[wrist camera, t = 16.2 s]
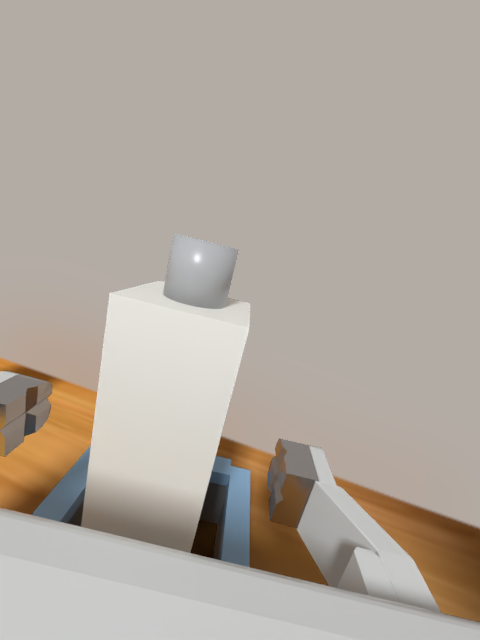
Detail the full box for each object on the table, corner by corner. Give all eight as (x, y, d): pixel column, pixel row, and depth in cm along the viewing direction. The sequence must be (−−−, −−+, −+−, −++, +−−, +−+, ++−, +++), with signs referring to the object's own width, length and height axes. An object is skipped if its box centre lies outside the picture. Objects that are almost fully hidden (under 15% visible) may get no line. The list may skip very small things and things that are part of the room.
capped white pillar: (188, 545, 14) (262, 256, 11) (164, 650, 11) (267, 256, 7) (117, 528, 14) (167, 233, 11) (68, 628, 11) (118, 218, 7)
